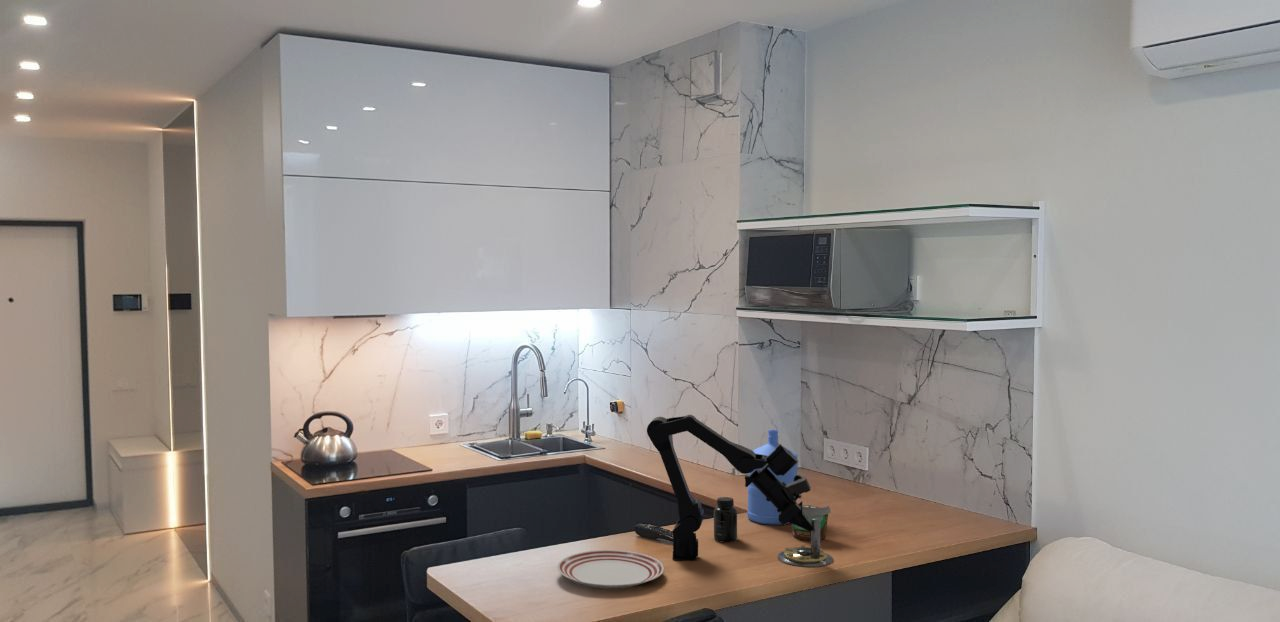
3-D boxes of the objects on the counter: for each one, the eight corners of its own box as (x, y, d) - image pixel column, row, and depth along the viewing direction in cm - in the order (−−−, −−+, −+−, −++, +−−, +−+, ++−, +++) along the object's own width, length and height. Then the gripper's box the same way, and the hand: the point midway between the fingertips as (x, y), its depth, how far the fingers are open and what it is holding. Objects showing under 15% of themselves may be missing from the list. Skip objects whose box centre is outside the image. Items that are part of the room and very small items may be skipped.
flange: (780, 566, 261) (780, 558, 261) (774, 550, 276) (775, 541, 276) (837, 567, 260) (837, 559, 260) (828, 550, 275) (828, 542, 275)
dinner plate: (685, 576, 253) (685, 564, 253) (612, 603, 233) (612, 590, 232) (608, 555, 271) (608, 543, 271) (534, 578, 251) (534, 565, 251)
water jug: (800, 526, 301) (801, 435, 300) (748, 525, 302) (749, 435, 301) (794, 513, 317) (795, 427, 316) (745, 512, 318) (746, 426, 316)
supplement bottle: (722, 534, 291) (722, 494, 291) (741, 538, 287) (742, 498, 286) (708, 539, 286) (709, 499, 285) (728, 544, 282) (728, 502, 281)
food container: (784, 540, 286) (784, 506, 285) (788, 534, 292) (789, 501, 291) (826, 544, 282) (827, 510, 281) (830, 539, 287) (830, 505, 287)
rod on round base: (775, 554, 271) (775, 512, 270) (809, 548, 276) (810, 508, 275) (800, 565, 260) (801, 522, 260) (835, 559, 266) (836, 517, 265)
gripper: (792, 474, 254) (834, 518, 252) (793, 460, 272) (833, 502, 271) (761, 502, 256) (803, 547, 254) (764, 487, 274) (804, 529, 272)
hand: (812, 530), depth 263 cm, fingers closed
